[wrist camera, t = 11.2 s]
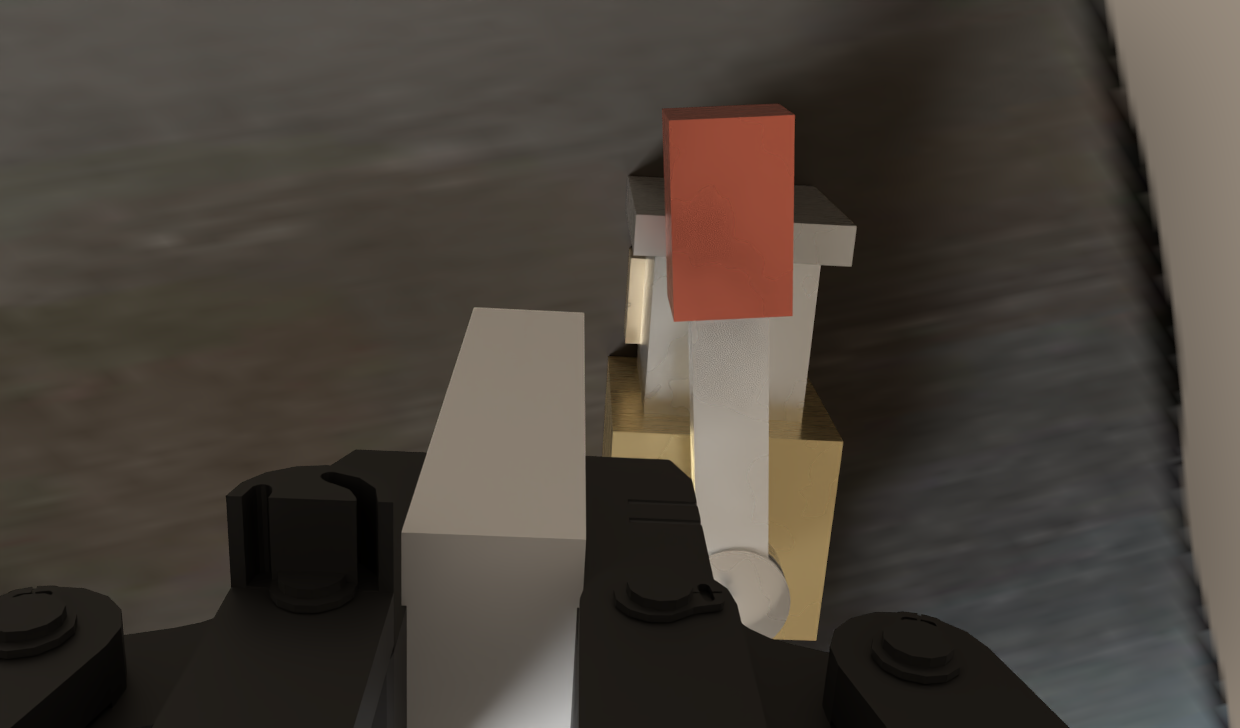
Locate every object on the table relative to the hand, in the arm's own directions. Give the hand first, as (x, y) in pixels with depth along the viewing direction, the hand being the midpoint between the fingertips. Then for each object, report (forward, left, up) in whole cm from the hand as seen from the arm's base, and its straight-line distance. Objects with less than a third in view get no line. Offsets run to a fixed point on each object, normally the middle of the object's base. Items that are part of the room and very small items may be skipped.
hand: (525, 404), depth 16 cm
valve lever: (-5, -5, -15) cm, 17 cm away
